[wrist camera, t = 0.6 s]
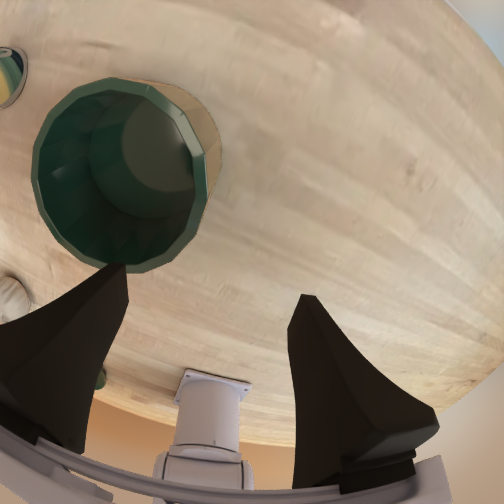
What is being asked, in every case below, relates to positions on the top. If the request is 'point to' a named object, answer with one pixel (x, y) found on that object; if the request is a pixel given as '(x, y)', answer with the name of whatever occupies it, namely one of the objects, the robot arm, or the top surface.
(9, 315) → the garlic
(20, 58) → the spray bottle
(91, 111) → the pot
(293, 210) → the top surface
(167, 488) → the robot arm
